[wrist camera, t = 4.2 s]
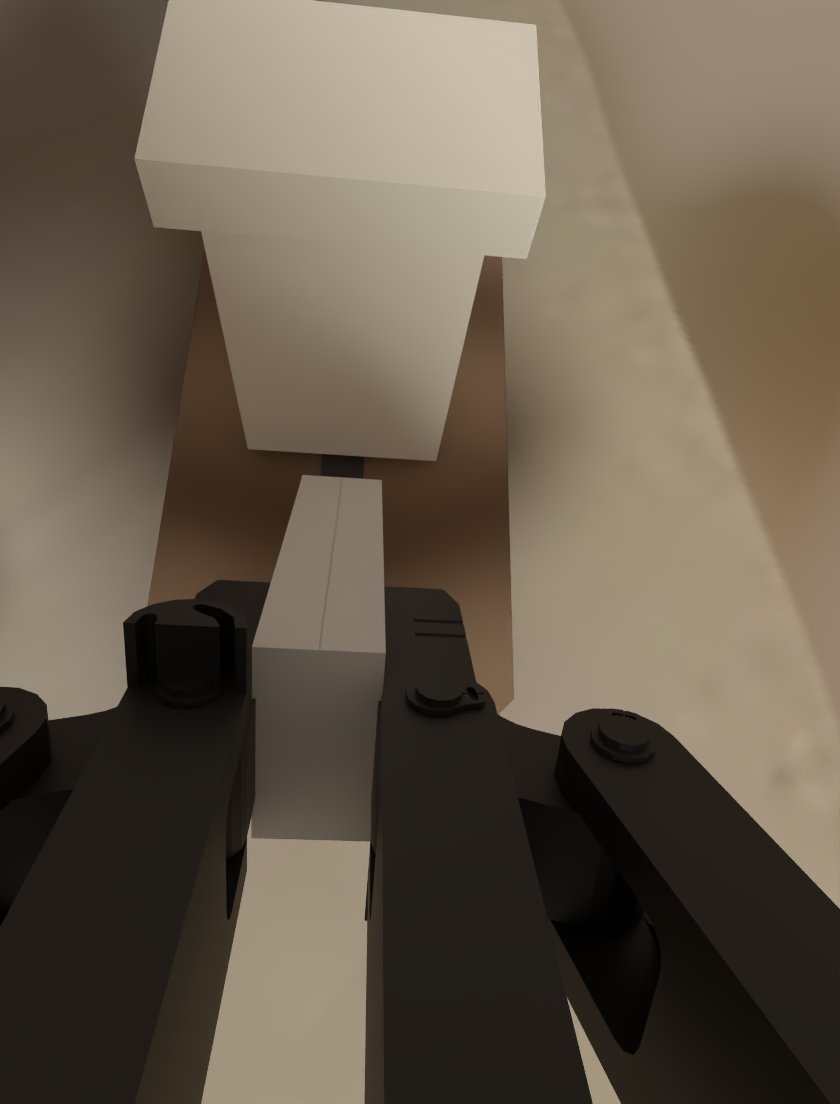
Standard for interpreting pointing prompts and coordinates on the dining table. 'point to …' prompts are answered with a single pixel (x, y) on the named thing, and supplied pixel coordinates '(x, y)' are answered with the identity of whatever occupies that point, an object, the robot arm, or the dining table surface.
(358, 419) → the fader knob
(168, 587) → the fader board
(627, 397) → the dining table surface
